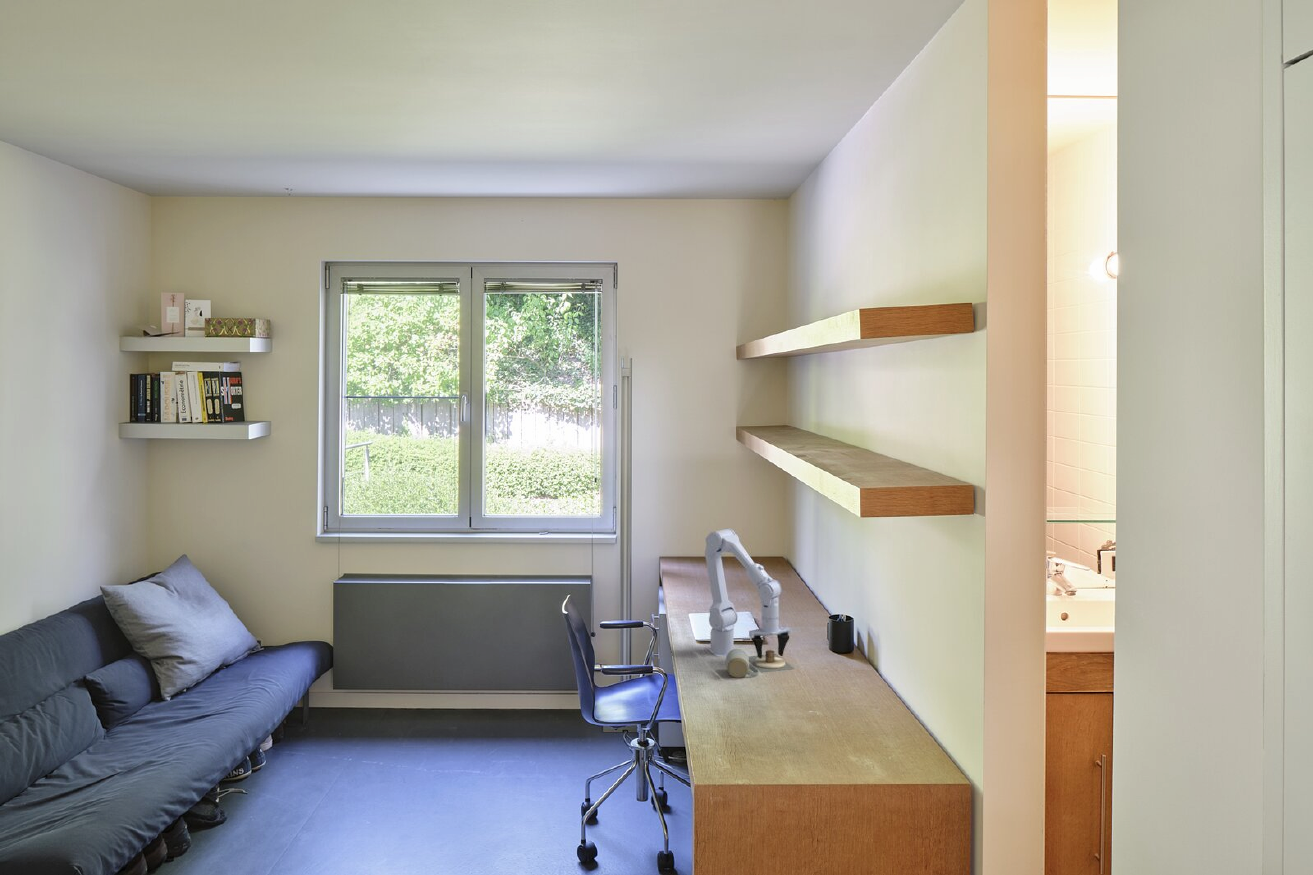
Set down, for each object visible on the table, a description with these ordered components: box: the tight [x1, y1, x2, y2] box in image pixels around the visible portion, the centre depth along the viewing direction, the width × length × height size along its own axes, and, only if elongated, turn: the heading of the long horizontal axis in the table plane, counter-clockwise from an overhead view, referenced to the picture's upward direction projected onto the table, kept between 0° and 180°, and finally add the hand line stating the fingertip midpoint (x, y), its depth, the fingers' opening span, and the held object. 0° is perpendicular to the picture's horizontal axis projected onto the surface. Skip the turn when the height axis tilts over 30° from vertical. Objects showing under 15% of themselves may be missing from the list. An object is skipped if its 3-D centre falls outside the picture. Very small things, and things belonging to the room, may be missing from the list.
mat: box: [748, 653, 796, 673], centre depth 279 cm, size 16×12×1 cm
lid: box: [755, 649, 785, 669], centre depth 278 cm, size 10×10×4 cm
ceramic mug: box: [725, 648, 760, 679], centre depth 268 cm, size 11×8×8 cm
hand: (770, 656), depth 278 cm, fingers open, 7 cm apart
